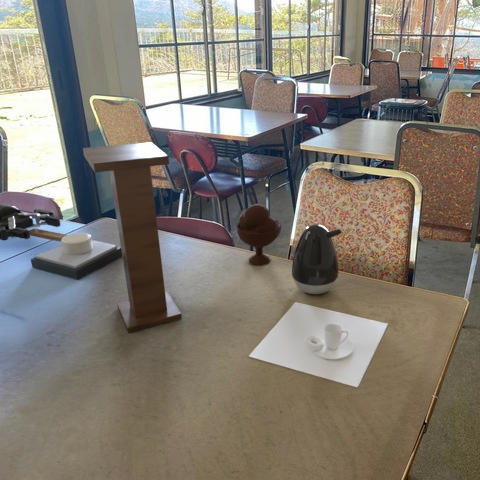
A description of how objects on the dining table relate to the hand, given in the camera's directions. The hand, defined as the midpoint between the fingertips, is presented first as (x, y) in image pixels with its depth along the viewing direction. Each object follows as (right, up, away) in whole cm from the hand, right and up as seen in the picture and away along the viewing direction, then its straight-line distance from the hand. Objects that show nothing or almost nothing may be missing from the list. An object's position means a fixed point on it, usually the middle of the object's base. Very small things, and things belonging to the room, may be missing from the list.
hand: (43, 228), depth 116 cm
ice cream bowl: (+52, -8, +2) cm, 52 cm away
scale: (+9, -8, -1) cm, 12 cm away
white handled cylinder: (+4, -4, +1) cm, 6 cm away
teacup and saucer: (+67, -21, -27) cm, 76 cm away
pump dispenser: (+66, -14, -10) cm, 68 cm away
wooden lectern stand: (+32, -17, -19) cm, 41 cm away
